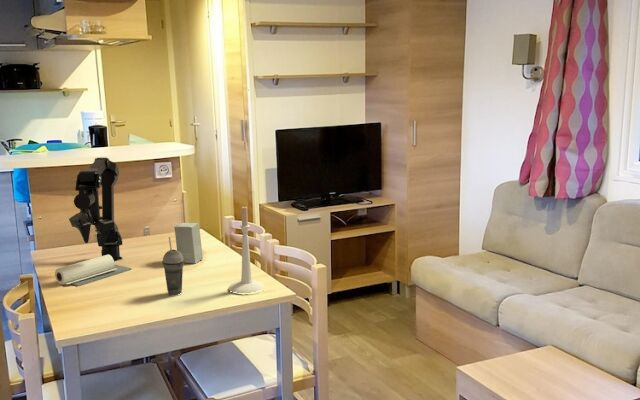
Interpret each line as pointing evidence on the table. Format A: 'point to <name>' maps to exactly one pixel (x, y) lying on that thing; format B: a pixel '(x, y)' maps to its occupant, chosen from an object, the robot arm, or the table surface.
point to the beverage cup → (173, 270)
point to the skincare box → (189, 242)
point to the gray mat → (102, 275)
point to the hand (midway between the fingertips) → (94, 244)
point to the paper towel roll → (84, 269)
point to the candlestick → (245, 263)
